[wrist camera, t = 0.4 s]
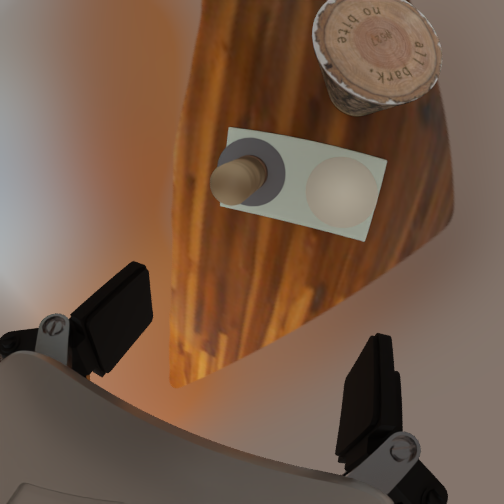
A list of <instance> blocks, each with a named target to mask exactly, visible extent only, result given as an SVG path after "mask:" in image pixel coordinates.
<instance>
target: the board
mask: <svg viewBox="0 0 504 504" xmlns="http://www.w3.org/2000/svg"><path fill="white" fill-rule="evenodd" d="M245 155H254V156H257V157H259V158H260V159H261V160H262V161H263V162H264V163H265V165H266V167H267V170H268V176H267V180H266V182H265V183H264V185H263V186H262V187H260V188H259V189H258V190H256V191H255V192H254V193H253V194H252V195H250V196H249V197H248V198H247V199H246V200H245V201H243V202H242V203H240V204H238V205H233V206H230V205H225V204H223V203H221V202H220V206H222V207H227V208H231V209H236V210H240V211H245V212H249V213H253V214H258V215H262V216H266V217H270V218H274V219H279V220H283V221H287V222H291V223H295V224H299V225H303V226H307V227H311V228H315V229H319V230H323V231H327V232H330V233H334V234H338V235H342V236H346V237H349V238H353V239H357V240H360V241H364V242H365V239H366V236H367V233H368V230H369V227H370V223H371V220H372V216H373V213H374V210H375V208H374V210H373V212H372V213H371V215H370V216H369V217H368V218H367V219H366V220H365V221H364V222H362V223H360V224H358V225H356V226H353V227H349V228H337V227H332V226H329V225H327V224H325V223H323V222H322V221H320V220H319V219H318V218H317V217H316V216H315V215H314V214H313V212H312V211H311V209H310V208H309V205H308V203H307V199H306V184H307V180H308V178H309V175H310V174H311V172H312V171H313V169H314V168H315V167H316V166H317V165H318V164H320V163H321V162H323V161H325V160H327V159H329V158H333V157H348V158H352V159H355V160H357V161H359V162H360V163H362V164H363V165H364V166H366V167H367V168H368V169H369V171H370V172H371V173H372V175H373V177H374V179H375V181H376V184H377V189H378V195H379V191H380V188H381V184H382V180H383V176H384V172H385V168H386V164H387V160H385V159H381V158H378V157H375V156H371V155H368V154H364V153H360V152H357V151H353V150H349V149H345V148H341V147H337V146H333V145H329V144H324V143H320V142H315V141H311V140H306V139H301V138H296V137H291V136H286V135H280V134H274V133H269V132H262V131H256V130H249V129H242V128H235V127H229V130H228V138H227V146H226V148H225V149H224V151H223V152H222V154H221V156H220V158H219V161H218V166H217V167H219V166H221V165H223V164H225V163H228V162H230V161H233V160H235V159H238V158H240V157H242V156H245Z"/></svg>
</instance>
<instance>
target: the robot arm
mask: <svg viewBox="0 0 504 504" xmlns="http://www.w3.org/2000/svg"><path fill="white" fill-rule="evenodd" d="M70 315H71V318H69V319H68V318H67V317H66V316H65V315H62V314H51V315H49V316H47V317H46V318H44V319H43V320H42V321H41V323H40V326H39V328H35V329H27V330H19V331H11V332H8V333H6V334H4V335H3V336H2V337H1V338H0V504H447V500H448V494H447V490H446V489H445V487H444V486H443V485H442V484H441V483H440V482H439V481H438V479H437V478H435V476H434V475H433V474H432V473H431V472H430V471H429V470H428V469H427V468H426V467H425V466H424V465H423V463H422V462H421V461H420V460H419V457H420V453H421V448H420V444H419V441H418V440H417V439H416V437H415V436H413V435H412V434H410V433H408V432H403V429H402V428H403V426H402V397H401V383H400V382H401V381H400V374H399V372H398V371H394V361H393V360H394V359H393V348H392V339H391V336H388V335H384V334H380V333H377V334H376V335H375V336H371V337H370V338H369V340H368V342H367V343H366V345H365V347H364V349H363V350H362V352H361V354H360V356H359V357H358V359H357V361H356V362H355V364H354V366H353V367H352V369H351V371H350V372H349V374H348V375H347V377H346V380H345V384H344V392H343V402H342V409H341V417H340V426H339V432H338V438H337V445H336V452H335V454H336V455H337V456H339V458H338V462H339V463H345V470H346V472H344V473H343V474H342V475H337V474H333V473H328V472H323V471H318V470H313V469H308V468H304V467H299V466H294V465H290V464H286V463H283V462H279V461H274V460H271V459H266V458H263V457H260V456H256V455H253V454H249V453H246V452H243V451H240V450H237V449H234V448H231V447H227V446H225V445H222V444H219V443H216V442H213V441H211V440H208V439H205V438H203V437H200V436H198V435H195V434H192V433H190V432H188V431H185V430H183V429H181V428H178V427H176V426H174V425H172V424H169V423H167V422H165V421H163V420H161V419H159V418H156V417H154V416H152V415H150V414H148V413H146V412H144V411H142V410H140V409H138V408H137V407H135V406H133V405H131V404H129V403H127V402H125V401H123V400H122V399H120V398H118V397H116V396H115V395H113V394H111V393H109V392H108V391H106V390H104V389H103V388H101V387H99V386H98V385H96V384H94V383H93V382H91V381H90V373H91V372H92V371H93V372H94V373H96V374H97V375H99V376H101V377H103V376H104V375H105V373H109V372H110V371H111V370H112V369H113V368H114V367H115V365H116V364H117V363H118V362H119V360H120V359H121V358H122V357H123V356H124V354H125V353H126V352H127V351H128V350H129V348H130V347H131V346H132V345H133V344H134V342H135V341H136V340H137V339H138V338H139V336H140V335H141V334H142V333H143V332H144V330H145V329H146V328H147V327H148V326H149V324H150V323H151V322H152V319H153V311H152V302H151V292H150V280H149V271H148V270H147V269H146V266H145V265H143V264H140V263H138V262H134V261H133V262H131V263H129V264H128V265H127V266H126V267H125V268H123V269H122V270H121V271H120V272H119V273H117V274H116V275H115V276H114V277H113V278H111V279H110V280H109V281H108V282H107V283H106V284H104V285H103V286H102V287H101V288H100V289H99V290H97V291H96V292H95V293H94V294H93V295H92V296H90V298H88V299H87V300H86V301H85V302H84V303H83V304H81V305H80V306H79V307H78V308H77V309H76V310H75V311H74V312H73V313H71V314H70Z"/></svg>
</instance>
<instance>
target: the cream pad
mask: <svg viewBox="0 0 504 504" xmlns="http://www.w3.org/2000/svg"><path fill="white" fill-rule="evenodd" d="M306 199H307V203H308V205H309V208H310V209H311V211H312V212H313V214H314V215H315V216H316V217H317V218H318V219H319V220H320V221H322V222H323V223H325V224H327V225H329V226H332V227H337V228H349V227H353V226H356V225H358V224H360V223H362V222H364V221H365V220H366V219H367V218H368V217H369V216H370V215H371V213H372V212H373V210H374V208H375V206H376V203H377V199H378V189H377V184H376V181H375V179H374V177H373V175H372V173H371V172H370V171H369V169H368V168H367V167H366V166H364V165H363V164H362V163H360V162H359V161H357V160H355V159H352V158H348V157H333V158H329V159H327V160H325V161H323V162H321V163H320V164H318V165H317V166H316V167H315V168H314V169H313V171H312V172H311V174H310V175H309V178H308V180H307V184H306Z"/></svg>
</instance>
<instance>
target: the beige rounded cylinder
mask: <svg viewBox="0 0 504 504" xmlns="http://www.w3.org/2000/svg"><path fill="white" fill-rule="evenodd" d="M267 176H268V170H267V167H266V165H265V163H264V162H263V161H262V160H261V159H260V158H259V157H257V156H254V155H245V156H242V157H240V158H238V159H235V160H233V161H230V162H228V163H225V164H223V165H221V166H219V167H217V168H216V169H215V170H214V171H213V173H212V175H211V178H210V188H211V191H212V193H213V195H214V197H215V198H216V199H217V200H218V201H220V202H221V203H223V204H225V205H230V206H233V205H238V204H240V203H242V202H243V201H245V200H246V199H247V198H248V197H249V196H250V195H252V194H253V193H254V192H255V191H256V190H258V189H259V188H260V187H262V186H263V185H264V183H265V182H266V180H267Z"/></svg>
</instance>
